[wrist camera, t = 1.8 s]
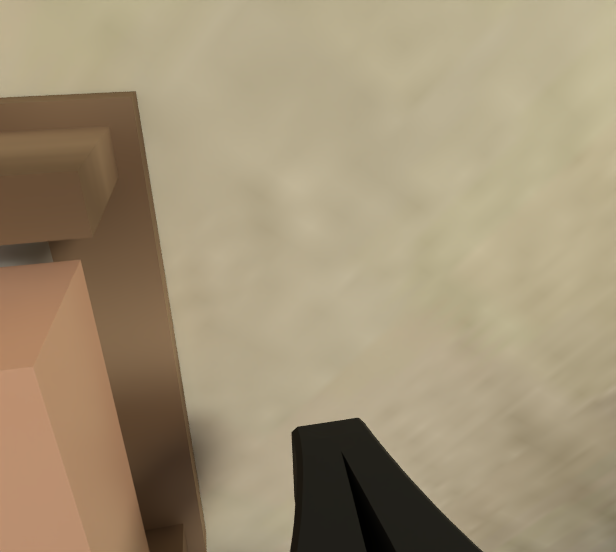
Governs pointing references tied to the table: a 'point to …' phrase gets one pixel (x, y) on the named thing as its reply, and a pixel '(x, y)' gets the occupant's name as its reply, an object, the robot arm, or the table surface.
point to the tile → (59, 421)
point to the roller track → (108, 278)
